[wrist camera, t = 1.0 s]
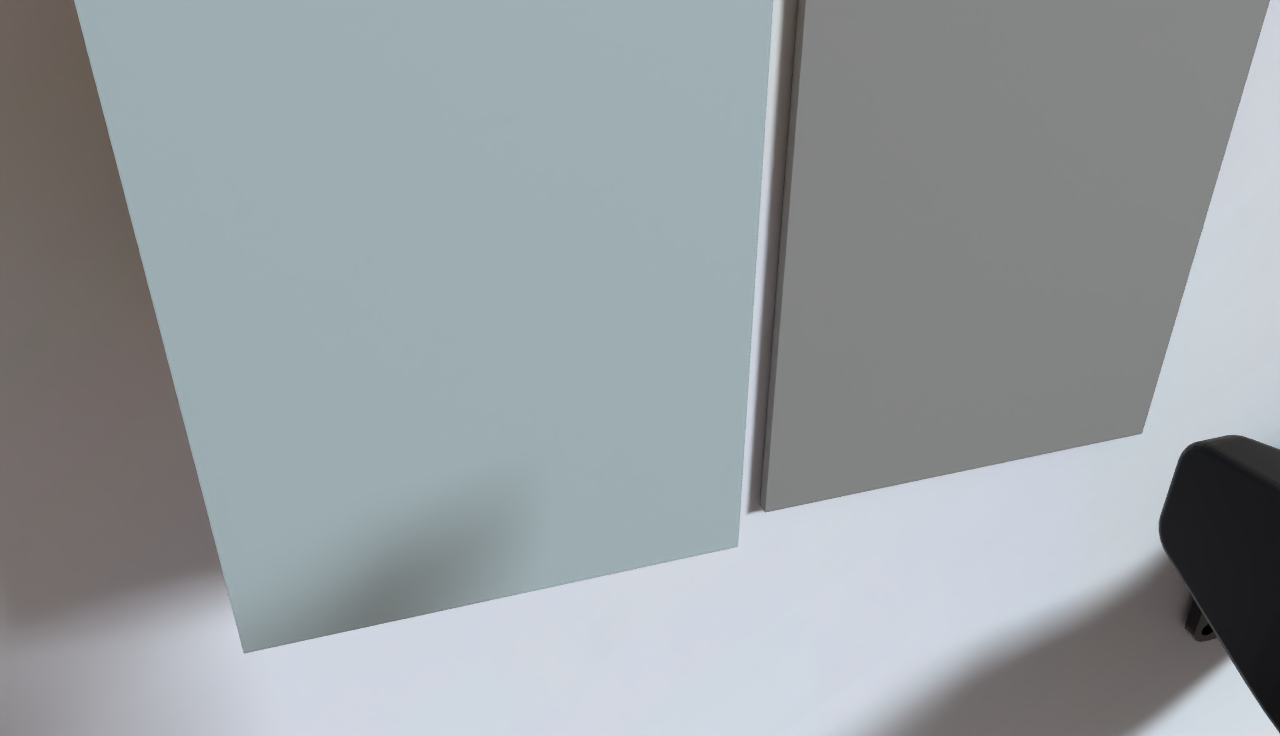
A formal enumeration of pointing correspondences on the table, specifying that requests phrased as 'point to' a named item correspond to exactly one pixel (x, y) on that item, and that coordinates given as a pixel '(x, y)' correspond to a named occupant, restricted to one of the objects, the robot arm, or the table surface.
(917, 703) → the table surface
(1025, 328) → the felt pad
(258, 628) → the lid
